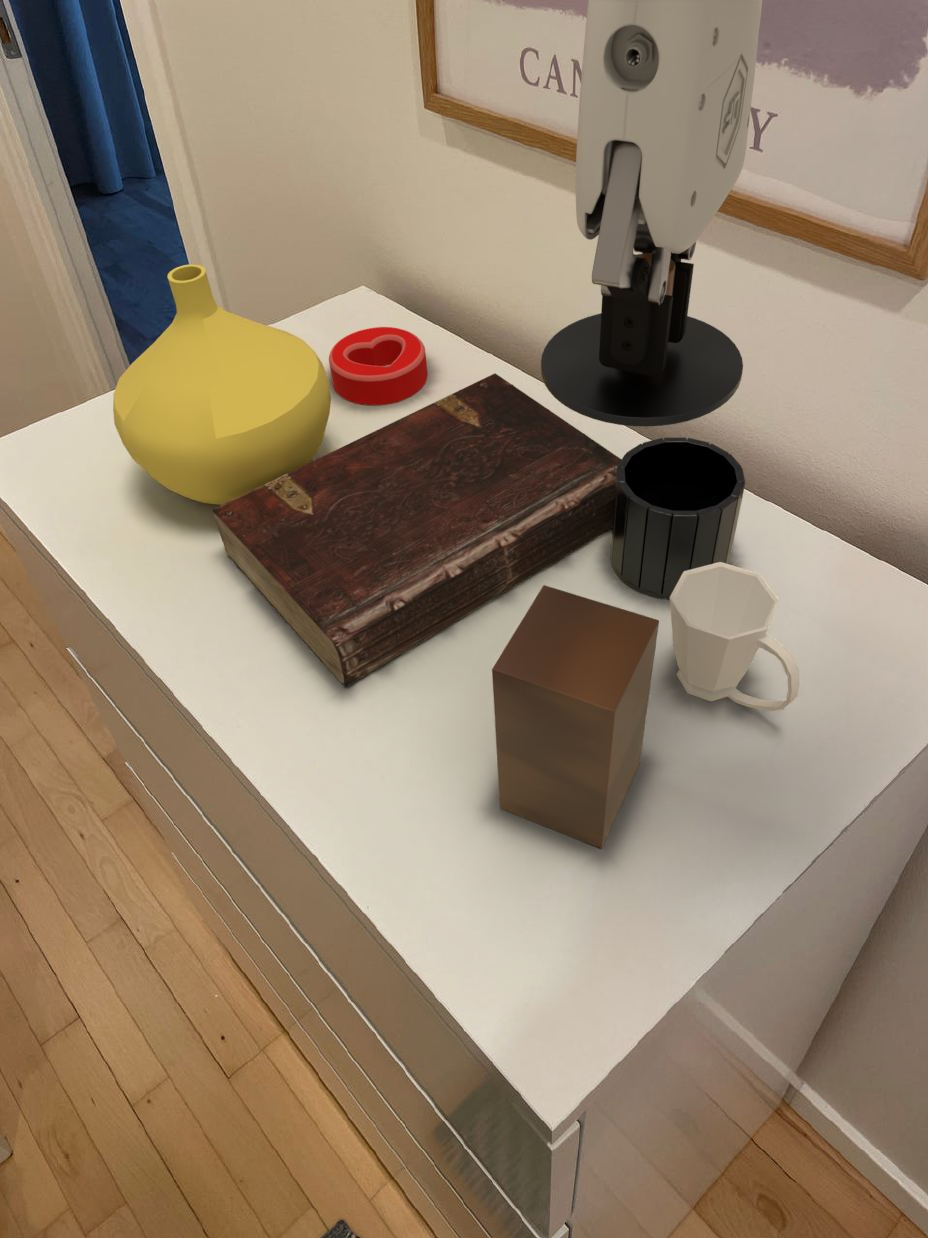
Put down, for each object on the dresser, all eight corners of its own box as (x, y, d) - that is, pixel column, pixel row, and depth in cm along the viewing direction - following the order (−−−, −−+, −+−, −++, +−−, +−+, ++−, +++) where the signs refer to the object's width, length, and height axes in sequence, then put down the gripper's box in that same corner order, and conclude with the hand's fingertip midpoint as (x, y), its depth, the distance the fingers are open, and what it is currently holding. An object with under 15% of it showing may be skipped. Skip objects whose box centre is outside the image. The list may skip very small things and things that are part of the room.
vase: (285, 555, 79) (229, 351, 65) (102, 514, 84) (14, 317, 70) (374, 428, 90) (344, 232, 76) (209, 399, 95) (152, 210, 81)
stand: (640, 763, 63) (659, 619, 52) (601, 849, 58) (614, 712, 48) (542, 728, 65) (543, 584, 55) (499, 808, 61) (491, 669, 51)
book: (347, 689, 68) (336, 644, 65) (227, 555, 79) (212, 509, 75) (636, 516, 79) (641, 468, 76) (496, 418, 90) (495, 373, 86)
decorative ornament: (380, 417, 91) (375, 389, 89) (313, 383, 96) (308, 355, 94) (447, 372, 96) (444, 344, 94) (380, 342, 101) (377, 315, 98)
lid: (763, 336, 49) (783, 233, 45) (709, 446, 43) (727, 338, 39) (582, 303, 52) (586, 204, 48) (509, 401, 46) (506, 297, 42)
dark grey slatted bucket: (741, 538, 77) (759, 453, 71) (707, 613, 71) (723, 529, 65) (633, 509, 80) (641, 426, 74) (593, 579, 74) (598, 496, 68)
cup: (703, 625, 70) (718, 546, 65) (815, 705, 65) (843, 626, 59) (637, 674, 68) (647, 595, 62) (748, 761, 62) (770, 684, 56)
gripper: (726, -43, 28) (664, 462, 41) (837, -149, 37) (757, 289, 51) (493, -54, 30) (507, 425, 44) (653, -151, 40) (624, 266, 53)
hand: (642, 349), depth 47 cm, fingers closed on lid, 2 cm apart
